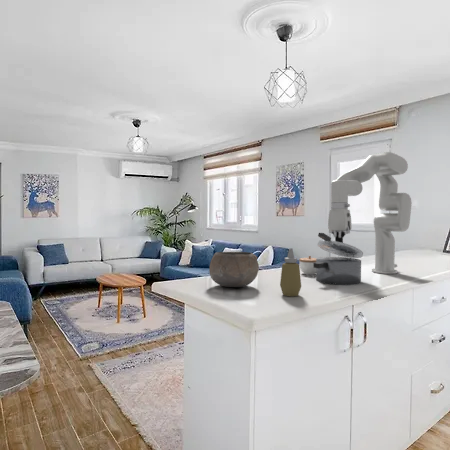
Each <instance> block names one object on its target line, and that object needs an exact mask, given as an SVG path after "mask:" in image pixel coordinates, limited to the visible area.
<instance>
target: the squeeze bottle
mask: <svg viewBox="0 0 450 450" xmlns="http://www.w3.org/2000/svg"><path fill="white" fill-rule="evenodd" d="M279 287H280V290H281V293H282V295H283V296H285V297H297V296H299V294H300V291H301V288H302V279H301V269H300V263H298V258H297V257H295V254H294V251H293V248H289V249H288V252H287V257H284V262H283V263H282V264H281V273H280V282H279Z"/></svg>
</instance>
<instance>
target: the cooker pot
mask: <svg viewBox="0 0 450 450" xmlns="http://www.w3.org/2000/svg"><path fill="white" fill-rule="evenodd" d="M315 258H316V257H315ZM314 268H316V274H315V280H316V281H317V282H319V283H321V284H328V285H335V286H336V285H337V286H353V285H355V286H356V285H359V284H361V283H362V259H360V258H349V257H344V256H322V257H321V256H320V257H317V258H316V263H314Z"/></svg>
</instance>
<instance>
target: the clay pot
mask: <svg viewBox="0 0 450 450" xmlns="http://www.w3.org/2000/svg"><path fill="white" fill-rule="evenodd" d="M259 266H260V265H259V262H258V257H257V255H256V254H254V253H253V252H249V251H248V252H247V251H216V252H215V253H214V254H213V256H212V258H211V260H210V262H209V267H208V268H209V271H208V272H209V276H210V279H211V280H212V281H213V282H214V283H215V284H217V285H219V286H221V287H222V286H223V287H227V288H243V287H247V286H249V285H250V284H251V283H253V281H255V279H256V278H257V276H258V275H259V270H260V269H259V268H260V267H259Z"/></svg>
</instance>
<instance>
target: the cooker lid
mask: <svg viewBox="0 0 450 450" xmlns="http://www.w3.org/2000/svg"><path fill="white" fill-rule="evenodd" d="M317 236H318V238H320V239H321V240H319V241H318V242H317V247H318V248H320V249H322V250H324V251H326V252H328V253H330V254H333V255H336V256H338V257H346V258H355V259H361V258H362V257H363V255H364V251H362V250H361V249H360V248H359V247H356V246H353V245H351V244H349V243H345V242H343V243H342V242H338V241H335V240H332V237H330V236H329V235H327V234H326V233H324V232H318V235H317Z"/></svg>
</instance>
